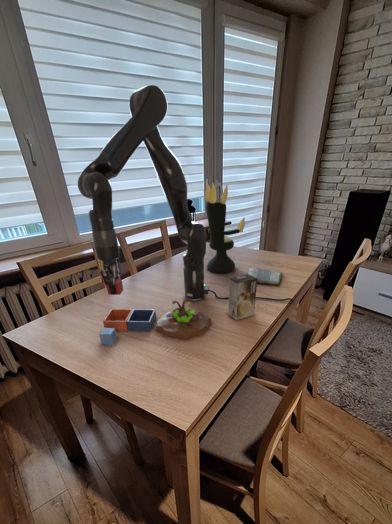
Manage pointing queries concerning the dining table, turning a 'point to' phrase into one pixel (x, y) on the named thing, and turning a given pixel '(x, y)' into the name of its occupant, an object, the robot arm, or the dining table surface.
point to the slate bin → (141, 320)
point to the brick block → (118, 287)
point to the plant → (183, 322)
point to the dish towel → (266, 276)
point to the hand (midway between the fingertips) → (115, 291)
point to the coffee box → (242, 296)
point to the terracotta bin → (117, 319)
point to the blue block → (108, 336)
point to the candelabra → (219, 231)
